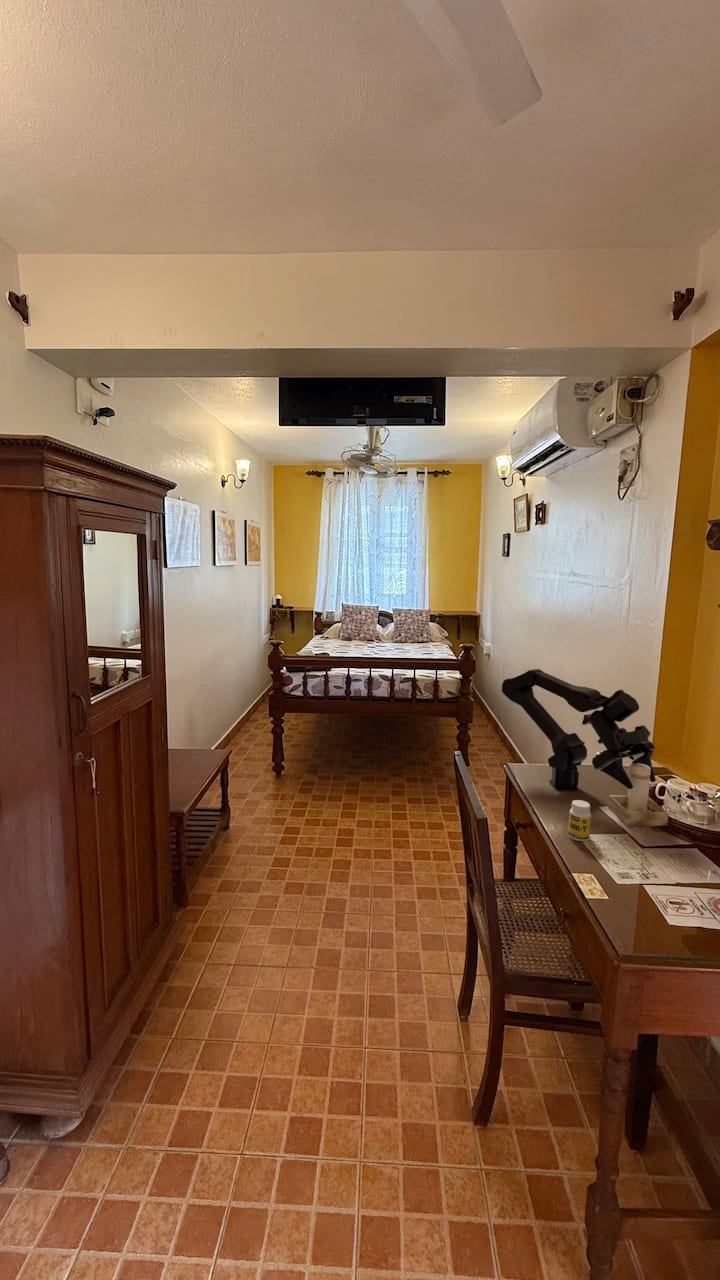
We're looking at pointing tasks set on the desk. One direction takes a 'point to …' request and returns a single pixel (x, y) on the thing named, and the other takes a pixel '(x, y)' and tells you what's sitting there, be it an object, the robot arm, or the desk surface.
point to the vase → (638, 788)
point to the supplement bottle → (579, 820)
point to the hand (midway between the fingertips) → (643, 785)
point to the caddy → (637, 813)
